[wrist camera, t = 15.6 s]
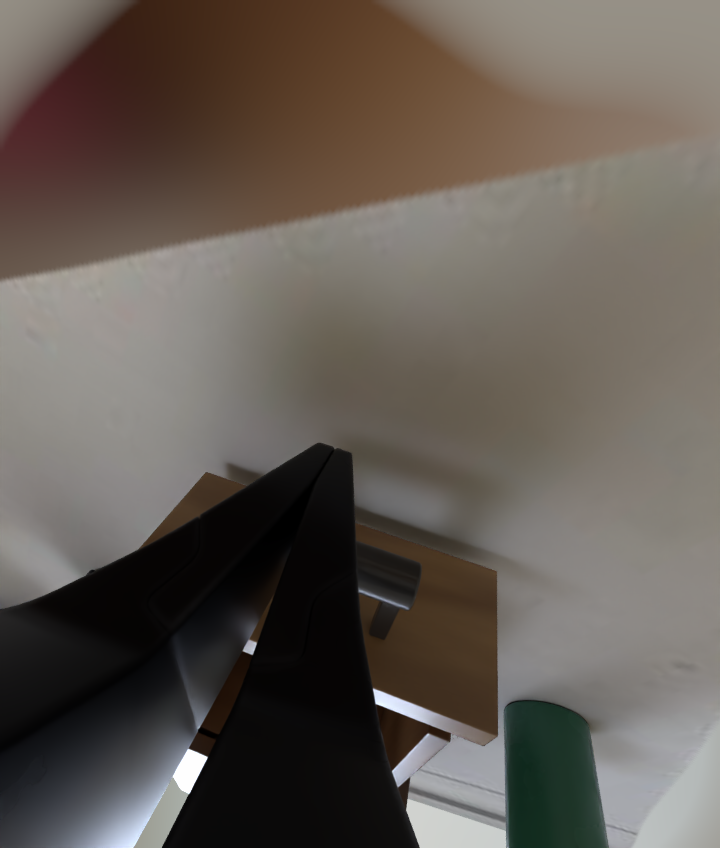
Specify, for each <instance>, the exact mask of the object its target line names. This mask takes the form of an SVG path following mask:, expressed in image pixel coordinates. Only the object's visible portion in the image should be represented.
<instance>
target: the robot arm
mask: <svg viewBox="0 0 720 848" xmlns="http://www.w3.org/2000/svg"><path fill="white" fill-rule="evenodd" d="M357 571H358V569H357V548H356V526H355V505H354V483H353V462H352V453H351V452H348V451H345V450H342V449H339V448H337V449H334V447H332V446H329V445H326V444H323V443H317V444H315V445H313V446H312V447H310V448H308V449H307V450H305V451H303V452H302V453H300V454H298V455H297V456H295V457H294V458H292V459H290V460H289V461H287V462H285V463H284V464H282V465H280V466H279V467H277V468H276V469H274V470H272V471H271V472H269V473H267V474H266V475H264V476H262V477H261V478H259V479H257V480H256V481H254V482H253V483H251V484H249V485H248V486H246V487H244V488H243V489H241V490H239V491H238V492H236V493H235V494H233V495H231V496H230V497H228V498H226V499H225V500H223V501H221V502H220V503H218V504H216V505H215V506H213V507H212V508H210V509H208V510H207V511H205V512H203V513H202V514H200V518H199V517H198V516H197V517H195V518H193V519H192V520H190V521H188V522H187V523H185V524H183V525H182V526H180V527H178V528H177V529H175V530H173V531H171V532H170V533H168V534H166V535H164V536H163V537H161V538H159V539H158V540H156V541H154V542H152V543H150V544H148V545H146V546H144V547H142V548H140V549H138V550H136V551H134V552H132V553H131V554H129V555H127V556H125V557H123V558H121V559H118V560H116V561H114V562H112V563H110V564H108V565H106V566H104V567H102V568H100V569H98V570H96V571H95V570H90V571H89V572H88V573H87V575H86V576H84V577H82V578H80V579H78V580H76V581H74V582H72V583H70V584H68V585H66V586H64V587H62V588H59V589H57V590H55V591H53V592H51V593H49V594H46V595H44V596H42V597H39V598H37V599H34V600H31V601H28V602H25V603H22V604H19V605H16V606H12V607H8V608H5V609H0V848H133V847H134V845H135V844H136V842H137V840H138V838H139V836H140V835H141V833H142V831H143V829H144V827H145V825H146V824H147V822H148V820H149V818H150V817H151V815H152V813H153V811H154V809H155V808H156V806H157V804H158V802H159V800H160V798H161V797H162V795H163V793H164V791H165V790H166V788H167V786H168V784H169V782H170V780H171V779H172V777H173V775H174V773H175V772H176V770H177V768H178V766H179V764H180V763H181V761H182V759H183V757H184V755H185V754H186V752H187V750H188V748H189V746H190V745H191V743H192V741H193V739H194V737H195V736H196V734H197V732H198V729H199V728H200V726H201V725H202V723H203V721H204V719H205V717H206V716H207V714H208V712H209V710H210V708H211V707H212V705H213V703H214V701H215V699H216V698H217V696H218V694H219V692H220V690H221V689H222V687H223V685H224V683H225V681H226V680H227V678H228V676H229V674H230V672H231V671H232V669H233V667H234V665H235V663H236V662H237V660H238V658H239V656H240V654H241V653H242V651H243V649H244V647H245V645H246V644H247V642H248V640H249V638H250V636H251V635H252V633H253V631H254V629H255V627H256V626H257V624H258V622H259V620H260V618H261V617H262V615H263V613H264V611H265V609H266V608H267V606H268V604H269V602H270V600H271V599H272V597H273V595H274V597H273V600H272V602H271V605H270V608H269V611H268V614H267V616H266V619H265V622H264V625H263V628H262V630H261V633H260V636H259V639H258V642H257V644H256V647H255V650H254V653H253V656H252V658H251V661H250V664H249V668H248V670H247V673H246V675H245V678H244V681H243V683H242V686H241V689H240V691H239V693H238V696H237V698H236V701H235V703H234V705H233V707H232V710H231V712H230V714H229V716H228V718H227V720H226V722H225V724H224V726H223V728H222V730H221V732H220V734H219V736H218V737H217V739H216V741H215V743H214V745H213V747H212V749H211V751H210V753H209V755H208V757H207V759H206V761H205V763H204V765H203V767H202V769H201V771H200V773H199V775H198V777H197V779H196V781H195V783H194V785H193V787H192V789H191V791H190V793H189V795H188V797H187V799H186V801H185V803H184V805H183V807H182V809H181V811H180V813H179V815H178V817H177V819H176V821H175V823H174V825H173V827H172V829H171V831H170V833H169V835H168V837H167V838H166V841H165V842H164V844H163V846H162V848H420V847H419V844H418V842H417V839H416V836H415V833H414V831H413V828H412V825H411V823H410V820H409V817H408V814H407V812H406V809H405V806H404V803H403V801H402V798H401V795H400V792H399V790H398V787H397V784H396V781H395V779H394V776H393V773H392V770H391V767H390V764H389V760H388V757H387V753H386V749H385V745H384V741H383V736H382V732H381V727H380V723H379V718H378V713H377V707H376V702H375V696H374V691H373V685H372V680H371V675H370V669H369V664H368V658H367V653H366V647H365V641H364V635H363V628H362V621H361V613H360V601H359V587H358V574H357ZM274 593H275V594H274Z"/></svg>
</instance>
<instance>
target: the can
mask: <svg viewBox="0 0 720 848" xmlns="http://www.w3.org/2000/svg"><path fill="white" fill-rule="evenodd" d="M504 746H505V803H506V848H609V846H608V839H607V833H606V827H605V821H604V815H603V809H602V803H601V796H600V790H599V784H598V778H597V772H596V766H595V760H594V754H593V747H592V741H591V735H590V729H589V726H588V724H587V722H586V721H585V720H584V719H583V718H582V717H580V716H579V715H578V714H576V713H574V712H572V711H570V710H568V709H565V708H563V707H560V706H557V705H553V704H549V703H544V702H537V701H519V702H514V703H511V704H509V705H508V706H506V708H505V710H504Z"/></svg>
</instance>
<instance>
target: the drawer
mask: <svg viewBox="0 0 720 848" xmlns="http://www.w3.org/2000/svg"><path fill="white" fill-rule="evenodd" d="M244 487H246V485H243V484H240V483H237V482H234V481H231V480H228V479H225V478H223V477H220V476H217V475H214V474H211V473H208V472H206V473H205V474H204V475H203V476H202V477H201V479H200V480H199V481H198V482H197V483H196V484H195V485H194V487H193V488H192V489H191V490H190V491H189V492H188V493H187V495H186V496H185V497H184V498H183V499H182V500H181V501H180V503H179V504H178V505H177V506H176V507H175V508H174V509H173V511H172V512H171V513H170V514H169V515H168V516H167V517H166V519H165V520H164V521H163V522H162V523H161V524H160V525H159V527H158V528H157V529H156V530H155V531H154V532H153V533H152V535H151V536H150V537H149V538H148V539H147V540H146V541H145V543H144V544H143V545H142V546H141V547H140V548H142V547H144V546H146V545H148V544H150V543H152V542H154V541H156V540H158V539H159V538H161V537H163V536H164V535H166V534H168V533H170V532H171V531H173V530H175V529H177V528H178V527H180V526H182V525H183V524H185V523H187V522H188V521H190V520H192V519H193V518H195V517H197V516H198V517H199V518H200V514H202V513H203V512H205V511H207V510H208V509H210V508H212V507H213V506H215V505H216V504H218V503H220V502H221V501H223V500H225V499H226V498H228V497H230V496H231V495H233V494H235V493H236V492H238V491H239V490H241V489H243V488H244ZM355 526H356V548H357V569H358V571H357V574H358V587H359V601H360V613H361V621H362V628H363V635H364V641H365V647H366V653H367V658H368V664H369V669H370V675H371V680H372V685H373V691H374V696H375V702H376V707H377V713H378V718H379V723H380V727H381V732H382V736H383V741H384V745H385V749H386V753H387V757H388V760H389V764H390V767H391V770H392V773H393V776H394V779H395V781H396V784H397V787H399V786H400V785H402V784H403V783H404V782H405V781H406V780H407V779H408V778H409V777H411V776H412V775H413V774H414V773H415V772H416V771H417V770H419V769H420V768H421V767H422V766H423V765H424V764H425V763H426V762H428V761H429V760H430V759H431V758H432V757H433V756H434V755H436V754H437V753H438V752H439V751H440V750H441V749H442V748H444V747H445V746H446V745H447V744H448V743H449V742H450V739H451V734H454V735H456V736H459V737H461V738H464V739H466V740H469V741H471V742H474V743H476V744H479V745H482V746H485V745H486V744H488V743H489V742H490V741H492V740H493V739H495V738H496V737H497V736H498V671H497V571H495V570H492V569H489V568H486V567H483V566H480V565H477V564H474V563H471V562H469V561H466V560H463V559H460V558H457V557H454V556H451V555H448V554H445V553H442V552H439V551H436V550H433V549H430V548H428V547H425V546H422V545H419V544H416V543H413V542H410V541H407V540H404V539H401V538H398V537H395V536H392V535H389V534H387V533H384V532H381V531H378V530H375V529H372V528H369V527H366V526H363V525H360V524H357V523H355ZM140 548H139V549H140ZM274 594H275V593H274ZM273 597H274V595H273ZM273 597H272V599H271V600H270V602H269V604H268V606H267V608H266V609H265V611H264V613H263V615H262V617H261V618H260V620H259V622H258V624H257V626H256V627H255V629H254V631H253V633H252V635H251V636H250V638H249V640H248V642H247V644H246V645H245V647H244V649H243V651H242V653H241V654H240V656H239V658H238V660H237V662H236V663H235V665H234V667H233V669H232V671H231V672H230V674H229V676H228V678H227V680H226V681H225V683H224V685H223V687H222V689H221V690H220V692H219V694H218V696H217V698H216V699H215V701H214V703H213V705H212V707H211V708H210V710H209V712H208V714H207V716H206V717H205V719H204V721H203V723H202V725H201V726H200V728H199V729H198V730H201V731H203V732H205V733H208V734H210V735H212V736H215V737H218V736H219V734H220V732H221V730H222V728H223V726H224V724H225V722H226V720H227V718H228V716H229V714H230V712H231V710H232V707H233V705H234V703H235V701H236V698H237V696H238V693H239V691H240V689H241V686H242V683H243V681H244V678H245V675H246V673H247V670H248V668H249V664H250V661H251V658H252V656H253V653H254V650H255V647H256V644H257V642H258V639H259V636H260V633H261V630H262V628H263V625H264V622H265V619H266V616H267V614H268V611H269V608H270V605H271V602H272V600H273Z"/></svg>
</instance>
